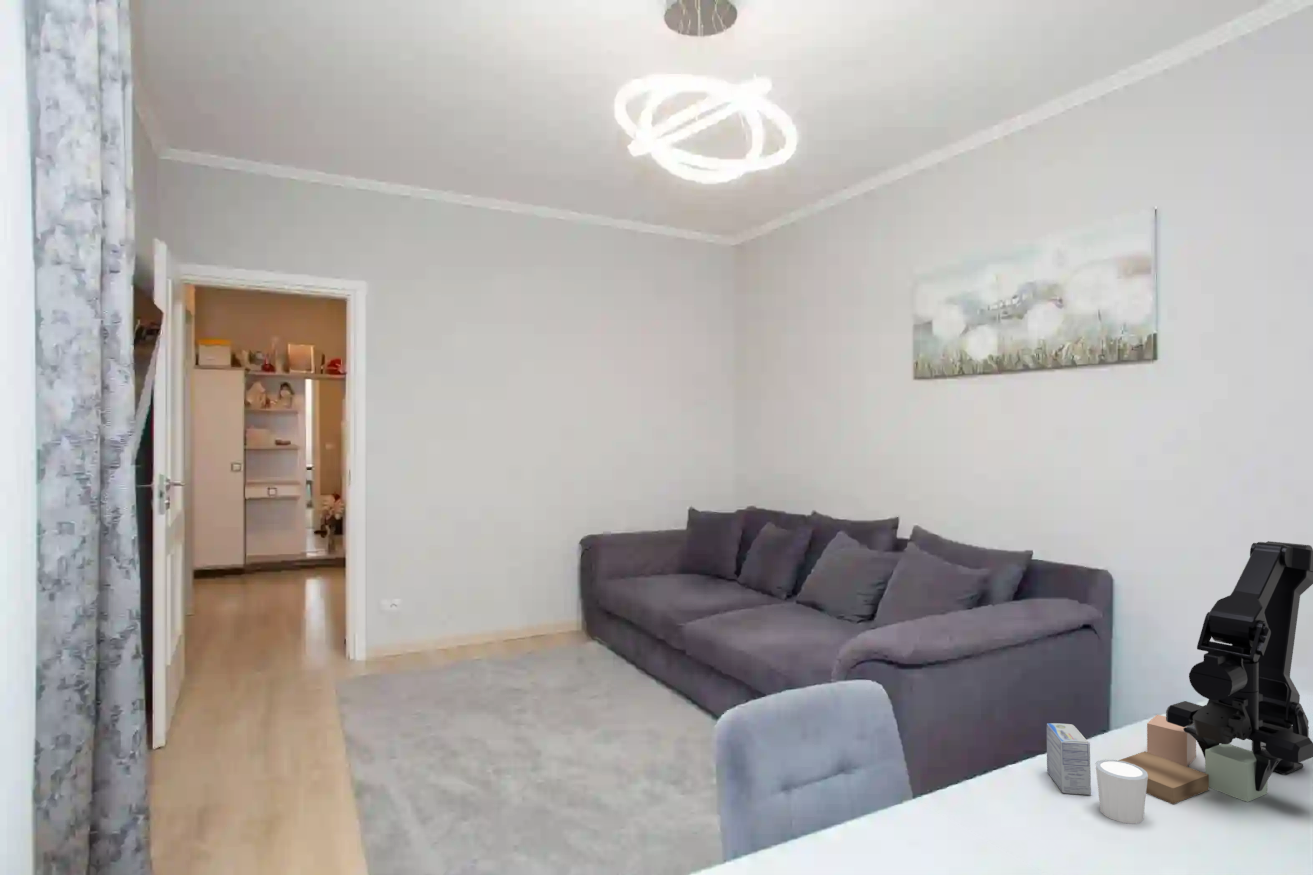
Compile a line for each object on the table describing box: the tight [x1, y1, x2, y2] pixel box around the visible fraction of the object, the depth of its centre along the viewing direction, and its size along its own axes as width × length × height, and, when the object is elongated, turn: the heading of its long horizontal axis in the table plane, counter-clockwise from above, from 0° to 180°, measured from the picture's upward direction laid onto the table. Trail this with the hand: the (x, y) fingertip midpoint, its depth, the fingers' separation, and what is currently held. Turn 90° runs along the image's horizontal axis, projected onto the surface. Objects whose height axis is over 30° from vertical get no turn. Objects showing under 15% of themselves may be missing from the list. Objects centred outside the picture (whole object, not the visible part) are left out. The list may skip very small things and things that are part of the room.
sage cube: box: [1204, 743, 1268, 803], centre depth 121 cm, size 6×6×6 cm
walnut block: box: [1117, 750, 1210, 805], centre depth 124 cm, size 10×10×2 cm
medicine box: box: [1046, 722, 1092, 796], centre depth 124 cm, size 8×4×9 cm, turn 168°
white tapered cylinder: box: [1095, 759, 1148, 825], centre depth 114 cm, size 7×7×7 cm
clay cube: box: [1146, 714, 1197, 767], centre depth 134 cm, size 6×6×6 cm
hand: (1236, 782), depth 121 cm, fingers closed on sage cube, 6 cm apart
